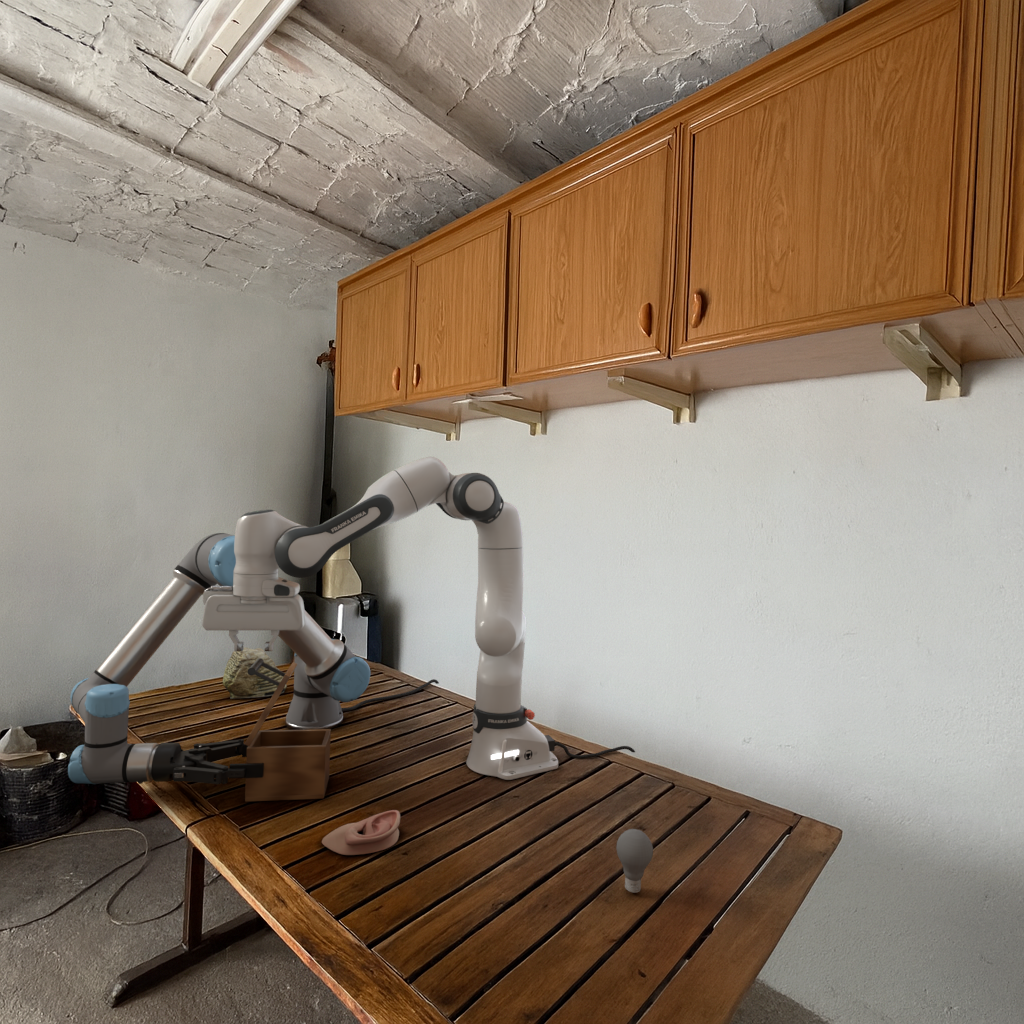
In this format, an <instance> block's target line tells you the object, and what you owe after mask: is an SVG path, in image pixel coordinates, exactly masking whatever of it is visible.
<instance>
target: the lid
mask: <svg viewBox="0 0 1024 1024" xmlns="http://www.w3.org/2000/svg"><path fill="white" fill-rule="evenodd" d="M261 666H263V667H265V668H267V669H269V670H271V671H273V672H275V673H277V674H279V675H281V676H283V679H282V680H281V682H278V681H276V680H274V679H272V678H270V677H268V676H266V675H264V674H262V673H260V672H258V670H259V668H260V667H261ZM296 666H297V664H296V663H295V661H293V662H292V663H291V664H290V666H289V667H288V669H287V670H286V672H284V671H282V670H281V669H279V668H278V669H279V670H278V669H276V668H277V667H276V668H274V667H272V666H270V665H268V664H266V663H264V661H263V659H261V658H259V659H257V660H256V661H255V662H254V663H253V665H252V666H251V667H250V668H249V669H248V674H249V675H251V676H252V675H256V676H258V677H260V678H262V679H264V680H266V681H268V682H270V683H272V684H274V685H276V686H278V687H277V689H276V691H275V692H274V694H273V695H272V696H271V698H270V699H269V701H268V702H267V705H266V706H265V708H264V710H263V711H262V713H261V714H260V716H259V718H258V719H257V721H256V723H255V725H254V727H253V728H252V730H251V732H250V733H249V735H248V737H247V738H246V741H244V744H245V745H247V746H250V745H251V743H252V741H253V740H254V738H255V736H256V735H257V733H258V731H261V728H262V726H263V725H264V723H265V721H266V719H267V718H268V716H269V714H270V713H271V711H272V709H273V707H274V706H275V704H276V702H277V701H278V699H279V697H280V695H281V694H282V693H281V692H282V690H283V689H284V687H285V685H287V683H288V682H289V680H290V678H291V676H292V675H293V674H294V670H295V668H296Z"/></svg>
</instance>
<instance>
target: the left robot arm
mask: <svg viewBox="0 0 1024 1024" xmlns="http://www.w3.org/2000/svg"><path fill="white" fill-rule="evenodd" d="M234 540H235V534H229V533H225V532H215V533H211V534H208V535H206V536H204V537H203V538H201V539H200V540H198V541H197V542H196V543H195V544H194V546H193V547H192V548H191V549H190V550H188V551H187V553H186V554H185V556H184V557H183V558H182V559H181V560H180V562H179V563H178V564H177V565H176V567H174V569H173V570H172V575H173V577H171V579H170V581H168V583H167V584H166V585H165V587H164V588H163V589H162V590H161V591H160V593H158V595H157V596H156V597H155V599H153V601H152V602H151V603H150V604H149V606H148V607H147V608H146V609H145V611H144V612H143V613H142V614H141V615H140V617H138V618H137V620H136V621H135V622H134V624H133V625H132V626H131V627H130V628H129V629H128V630H127V632H126V633H125V635H123V637H122V638H121V639H120V640H119V641H118V642H117V644H116V645H115V646H114V648H113V649H112V650H111V651H110V652H109V654H108V655H107V656H106V657H105V658H104V660H103V661H102V662H101V663H100V664H99V665H98V666H97V668H96V669H95V670H94V671H93V672H92V673H91V674H90V676H89V677H86V678H83V679H82V680H80V681H79V682H77V683H76V684H75V685H74V686H73V687H72V690H71V691H70V697H69V698H70V699H69V700H70V702H71V706H72V708H73V710H74V711H75V712H76V713H77V714H78V715H79V717H80V718H81V720H82V721H83V723H84V743H83V744H80V745H78V746H77V747H75V749H74V750H73V751H72V753H71V755H70V758H69V763H68V766H67V775H68V778H69V780H70V781H71V782H72V783H74V784H90V785H99V784H100V785H101V784H119V783H137V784H139V785H142V784H143V783H151V782H153V781H154V782H156V783H159V782H160V783H163V782H164V783H165V782H166V783H167V782H175V783H176V782H190V783H199V784H200V783H201V784H210V785H227V784H228V783H229V779H246V778H263V772H264V763H247V764H246V762H245V763H230V764H229V766H228V765H224V764H220V763H216V762H215V761H220V760H225V759H230V758H234V757H239V756H241V757H242V758H246V757H247V747H248V746H247V745H245V740H244V739H243V738H239V739H232V740H223V741H216V742H207V743H201V742H200V743H198V742H197V743H193V748H189V749H188V750H187V749H185V750H183V748H182V746H181V744H180V743H178V742H162V743H160V744H159V743H157V742H143V743H140V742H139V743H128V736H129V735H128V734H129V716H130V715H129V711H130V705H131V701H130V691H129V688H128V686H129V685H130V683H131V682H133V680H134V678H136V677H137V675H138V674H139V673H140V672H141V670H142V669H143V668H144V667H145V665H146V664H147V663H148V662H149V661H150V659H151V658H152V657H153V655H154V654H155V653H156V652H157V651H158V650H159V648H160V647H161V646H162V644H163V643H164V642H165V641H166V640H167V638H168V637H169V636H170V634H171V633H172V632H173V631H174V630H175V629H176V627H177V626H178V625H179V624H180V622H181V621H182V620H183V619H184V617H185V616H186V615H187V614H188V612H189V611H190V610H191V609H192V607H194V605H195V604H196V603H197V602H198V600H199V599H200V598H201V596H203V593H204V591H205V590H206V589H208V588H210V587H211V586H233V573H234V568H235V564H236V557H235V554H234ZM208 591H211V589H210V590H208ZM277 637H279V638H280V639H281V641H283V643H284V644H286V645H287V646H288V648H290V650H291V651H292V652H293V653H294V655H293V657H294V663H296V664H297V666H296V668H295V670H294V671H293V695H292V696H293V697H292V699H291V701H290V702H289V705H288V706H289V708H288V711H287V713H286V715H285V726H286V728H287V729H288V730H309V729H331V730H332V729H335V728H337V727H339V726H340V725H342V723H343V722H344V714H343V712H351V711H353V710H356V709H358V708H360V707H362V706H364V705H366V704H370V703H373V702H379V701H387V700H392V699H393V700H394V699H397V698H401V697H402V698H403V697H406V696H410V695H412V694H415V693H417V692H419V691H421V690H423V689H424V688H426V687H428V686H429V685H431V684H433V683H435V684H437V685H438V684H440V682H439V681H438V680H437V679H435V678H433V679H431V680H428V681H427V682H426V683H423V684H421V685H420V686H418V687H416V688H414V689H411V690H409V691H405V692H401V693H396V694H392V695H387V696H380V697H373V698H368V699H365V700H363V701H361V702H360V701H359V702H358V703H356V704H355V705H352V706H350V707H349V706H348V707H342V706H341V702H342V703H350V702H353V701H355V700H357V699H359V698H360V697H361V696H362V695H363V694H364V693H365V691H366V690H367V688H368V686H369V684H370V681H371V680H370V679H371V668H370V665H369V664H368V662H367V661H365V659H364V658H362V657H360V656H356V655H355V654H354V653H353V652H352V651H351V650H350V649H349V648H348V646H347V645H346V644H345V643H344V642H343V641H342V640H341V639H337V638H331V636H329V635H328V634H327V633H326V632H325V630H324V629H323V628H322V627H321V626H320V625H319V624H318V623H317V622H316V621H315V619H314V618H313V617H312V616H311V615H310V614H309V613H308V612H307V611H306V610H305V624H304V626H303V627H302V628H301V629H300V630H279V635H278V636H277Z"/></svg>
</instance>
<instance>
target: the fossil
mask: <svg viewBox="0 0 1024 1024" xmlns="http://www.w3.org/2000/svg"><path fill="white" fill-rule="evenodd" d="M243 647H244V648H243V651H237V652H235V651H234V650H233V651H232V653H231V656H230V657H229V659H228V660H227V663H226V666H225V668H224V671H223V675H222V676H223V677H222V685H223V687H224V688H225V690H226V691H228V693H229V698H230V699H250V698H264V697H272V696H273V694H274V692H275V691H276V689H277V687H278V686H276V685H274V684H272V683H270V682H268V681H266V680H264V679H262V678H260V677H258V676H256V675H252V676H251V675H249V674H248V669H249V668H250V667H251V666H252V665H253V663H254V662H255V661H256V660H257V659H259V658H261V659H263V661H264V663H266V664H268V665H270V666H272V667H274V668H276V669H278V670H280V669H279V668H278V667H277V665H276V663H275V662H274V660H273V659H272V658H271V657H270V656H269V655H268V654H267V653H266V651H265V649H263V648H260V647H258V648H251V647H247V646H246V647H245V646H243ZM258 672H260V673H262V674H264V675H266V676H268V677H270V678H272V679H274V680H276V681H278V682H281V680H282V679H283V676H281V675H279V674H277V673H275V672H273V671H271V670H269V669H267V668H265V667H263V666H261V667H260V668H259V670H258ZM287 687H288V686H287V684H286V685H285V687H284V689H283V690H282V692H281V694H284V693H285V691H286V689H287Z"/></svg>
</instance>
